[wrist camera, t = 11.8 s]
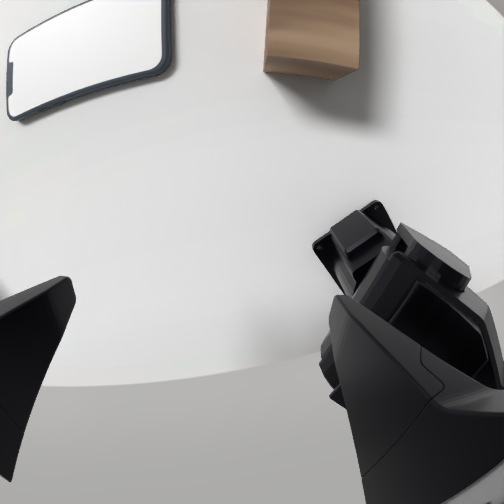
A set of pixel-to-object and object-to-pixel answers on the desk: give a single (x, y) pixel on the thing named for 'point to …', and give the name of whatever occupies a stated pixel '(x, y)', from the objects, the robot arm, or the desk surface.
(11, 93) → the phone case
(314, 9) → the wooden block
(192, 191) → the desk surface
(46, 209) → the desk surface
